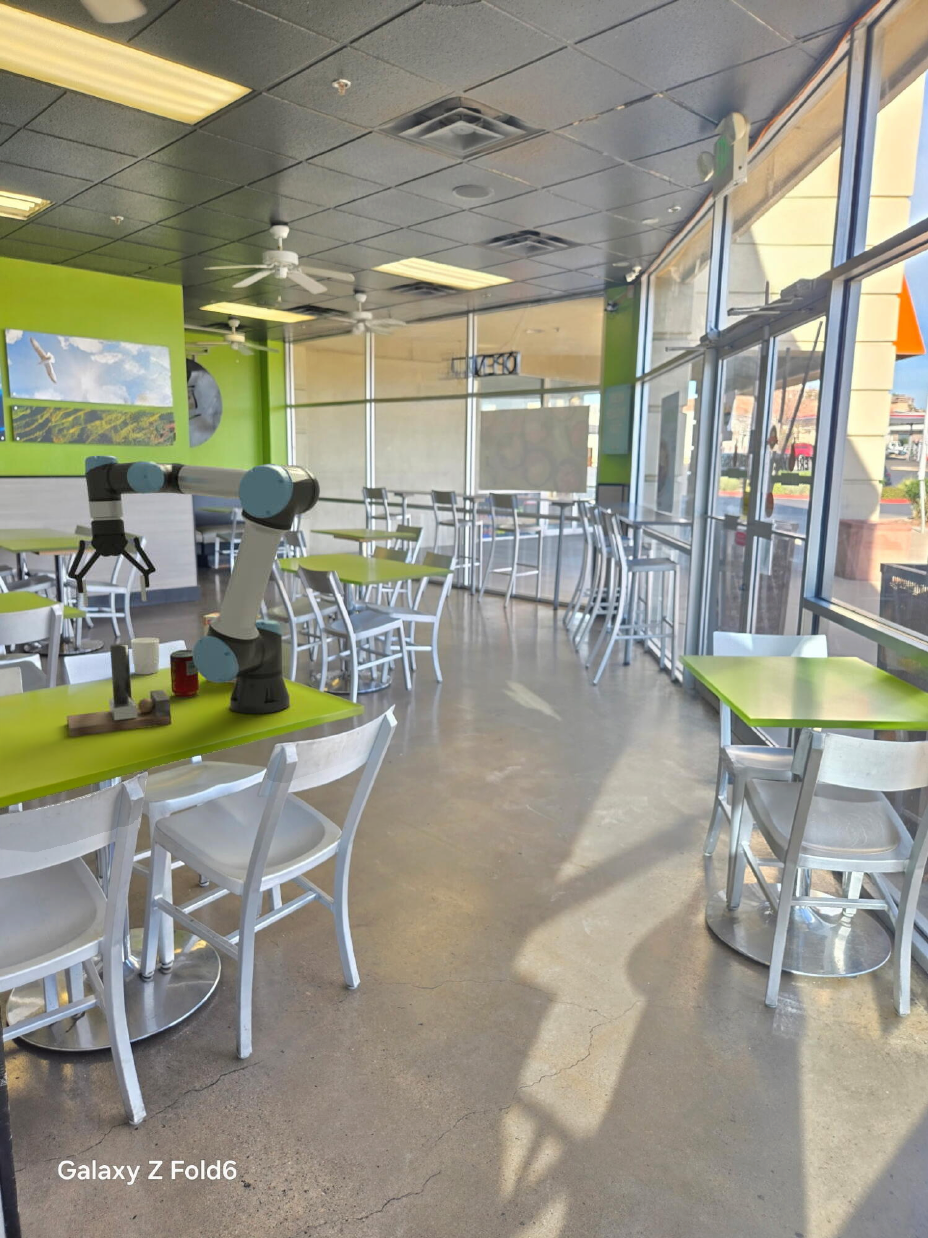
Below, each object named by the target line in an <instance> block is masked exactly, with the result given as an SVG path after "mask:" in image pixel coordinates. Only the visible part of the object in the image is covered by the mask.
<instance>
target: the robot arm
mask: <svg viewBox="0 0 928 1238" xmlns="http://www.w3.org/2000/svg"><path fill="white" fill-rule="evenodd" d="M84 467H85V468H84V470H85V473H84V476H85V481H86V488H87V498H88V507H89V517H90V518H91V519H92V520H91V522H90V527H91V536H92V538H91V540H84V539H79V541H78V550H77V552H76V554H75V557H74V559H73V562H72V563H71V566H70V568H69V571H68V573H67V577H68V578H69V579H72V580H75V581H76V586H77V588H76V589H77V592H78V594H82V596H83V598H82V599H83V605H84V607H85V608H86V607H89V599H88V589H87V582H86V579H84V577H85V576H86V574H88V572H89V571H90V570H91V568H92V567H93V565H95V563H96V561H97V560H98V559H99V558H100V557H101V556H102V557H105V558H108V557H119V556H120V555H121V556H123V557H124V558H125V559H126V560H127V561H128V562H129V563H130V564H131V565H132V566H134V568H136V569H137V570H138V571H139V572H140V573H141V575H139V581H140V582H139V584H140V591H141V592H140V593H141V600H142V602H147V590H146V589H148V588H150V575H151V574H153V573H156V571H157V569H156V567H155V565H153V563H152V561H151V560H150V558H149V557H148V555H147V554H146V552H145V550H144V549H143V547H142V545H141V543H140V538H139V537H138V536H133V537H130V538H127V537H126V532H125V531H126V530H125V521H124V520H123V519H122V518H123V517H124V513H123V511H124V510H123V502H122V495H127V494H128V495H129V494H130V495H131V494H142V495H143V494H161V493H162V494H179V495H191V496H192V495H193V496H200V497H201V496H204V497H211V498H221V499H223V498H224V499H232V500H240V505H241V508H242V510H241V513H240V516H241V517H242V519H243V521H244V523H245V524H244V529H243V532H242V536H241V538H240V542H239V546H238V549H237V552H236V556H235V560H234V563H233V566H232V569H231V574H230V576H229V577H230V578H229V580H228V584H227V588H226V591H225V595H224V598H223V601H222V605H221V608H220V612H219V613H220V615H219V616H217V617H215V618H213V619H212V620H211V622H210V625H209V629H208V632H207V635H206V636H204V635H203V637H200V639H198V640H197V641H196V643H195V644H194V646H193V649H192V650H193V661H194V664H195V666H196V667H197V669H198V674H200V675H201V676H202V677H204V679H205V680H206V679H207V680H209V681H208V682H211V683H212V682H213V683H216V684H217V683H219V684H221V683H226V682H225V681H231V680H233V679H235V678H236V681H235V683H234V686H233V689H232V692H231V695H230V699H229V704H230V705H229V707H230V709H231V711H234V712H236V713H241V714H251V715H252V714H253V715H256V714H269V713H270V714H271V713H274V712H279V711H283V710H285V709H287V708H289V706H290V704H291V701H290V694H289V692H288V688H287V686H286V683H285V681H284V677H283V654H282V653H283V650H282V649H283V646H282V641H283V640H282V637H283V634H282V627H281V624H280V623H279V622H278V621H277V620H271V619H263V618H262V619H257V616H258V615H259V613H260V609H261V606H262V603H263V600H264V595H265V593H266V589H267V586H268V583H269V580H270V577H271V576H270V575H271V574H272V569H273V566H274V564H275V560H276V557H277V553H278V551H279V547H280V544H281V540H282V537H283V535H284V534H286V533H288V532H290V531H291V529H292V527H293V524H294V521H295V517H296V515H297V516H298V515H303V514H305V513H307V512H310V511H311V510H312V509H313V508H314V507H315V506H316V504H317V503H318V501H319V499H320V494H321V490H320V488H321V487H320V484H319V481H318V479H317V477H316V476H315V474H314V473H313V472H312V471H311V470H310V469H308V468H306V467H305V466H300V465H296V464H295V465H289V464H288V465H287V464H276V463H265V464H261V465H256V466H254V467H252V468H250V469H244V468H234V467H221V466H219V467H218V466H210V465H209V466H208V465H192V464H183V463H180V462H179V463H178V462H172V463H170V462H168V463H165V462H164V463H163V462H161V463H160V462H153V461H147V460H146V461H145V460H143V461H142V460H138V461H132V462H121V463H120V462H118V457H116V456H115V455H90V456H87V457H86V458H85V459H84ZM128 544H130V545H131V547H134V548H135V551H136V552H137V553H138V555H139V557H140V558H141V560H142V561H143V563H144V564H145V566H146V567H147V569H146V568H145V567H144V566H143V565H142V564H141V563H140V562H139V561H138V560H136V559H135V557H133V556H132V555H131V554H130V552H128V551H127V550H126V547H127V545H128ZM89 546H91V547H92V548H93V549H94V550H95V551H94V552H93V554H92V555H91V557H90V558H89V559H88V561H87V562H86V563H85V564H84V566H83V567H82V568H81V569H80V571H79V572H78V574H77V573H76V572H77V570H78V568H79V566H80V563H81V560H82V558H83V555H84V553H85V550H87V549H88V548H89Z"/></svg>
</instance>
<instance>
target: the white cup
mask: <svg viewBox="0 0 928 1238" xmlns="http://www.w3.org/2000/svg"><path fill="white" fill-rule="evenodd" d="M130 644H131V652H132V653H131V655H132V663H133V665H134V666H133V668H134V669H133V670H134V673H135V674H136V675H151V673H153V674H157V673H158V672H159V663H160V639H159V638H157V637H139V638H134V639H131V640H130ZM157 671H158V672H157ZM156 672H157V673H156Z"/></svg>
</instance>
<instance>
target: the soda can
mask: <svg viewBox="0 0 928 1238" xmlns="http://www.w3.org/2000/svg"><path fill="white" fill-rule="evenodd" d="M169 664H170V683H171V691H172V694H173V695H174V697H175V698H177V699H178V698H179V699H187V698H188V699H189V698H192V697H196V696H197V693H198V691H199V687H200V686H199V684H200V683H199V681H200V680H199V671H198V669H197V667H196V666H195V664H194V661H193V649H178V650H176V651H173V652H172V653H171V654H170V655H169Z"/></svg>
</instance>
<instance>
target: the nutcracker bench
mask: <svg viewBox="0 0 928 1238" xmlns="http://www.w3.org/2000/svg"><path fill="white" fill-rule="evenodd" d="M149 693H150V698H149V697H143V698H142V699H140V700H139V702H138V704H137V718H130V719H122V720H114V718H113V716H112V714H111V711H110V710H106V711H105V710H104V711H97V712H88V713H81V714H80V713H79V714H71V715H66V722H67V728H68V732H69V735H70V737H74V738H75V737H80V736H88V735H97V734H103V733H109V732H111V733H112V732H118V731H117V730H120V731H124V730H125V731H126V730H133V729H132V728H135V729H141V728H140V727H143V728H148V726H150V727H155V726H154V725H158V726H165V724H166V725H172V713H171V699H170V697H169V696H168V695H167V693H166V692H165V691H164V689H157V690H150V691H149ZM96 733H97V734H96Z"/></svg>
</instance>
